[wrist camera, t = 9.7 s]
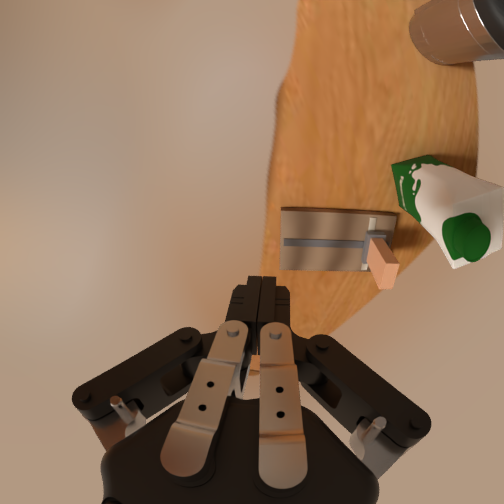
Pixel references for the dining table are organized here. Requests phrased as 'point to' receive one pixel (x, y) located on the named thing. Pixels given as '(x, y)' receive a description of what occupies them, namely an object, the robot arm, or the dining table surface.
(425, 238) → the dining table surface
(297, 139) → the dining table surface
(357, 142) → the dining table surface
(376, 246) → the fader
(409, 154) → the dining table surface
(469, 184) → the milk carton
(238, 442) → the robot arm
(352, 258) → the console
